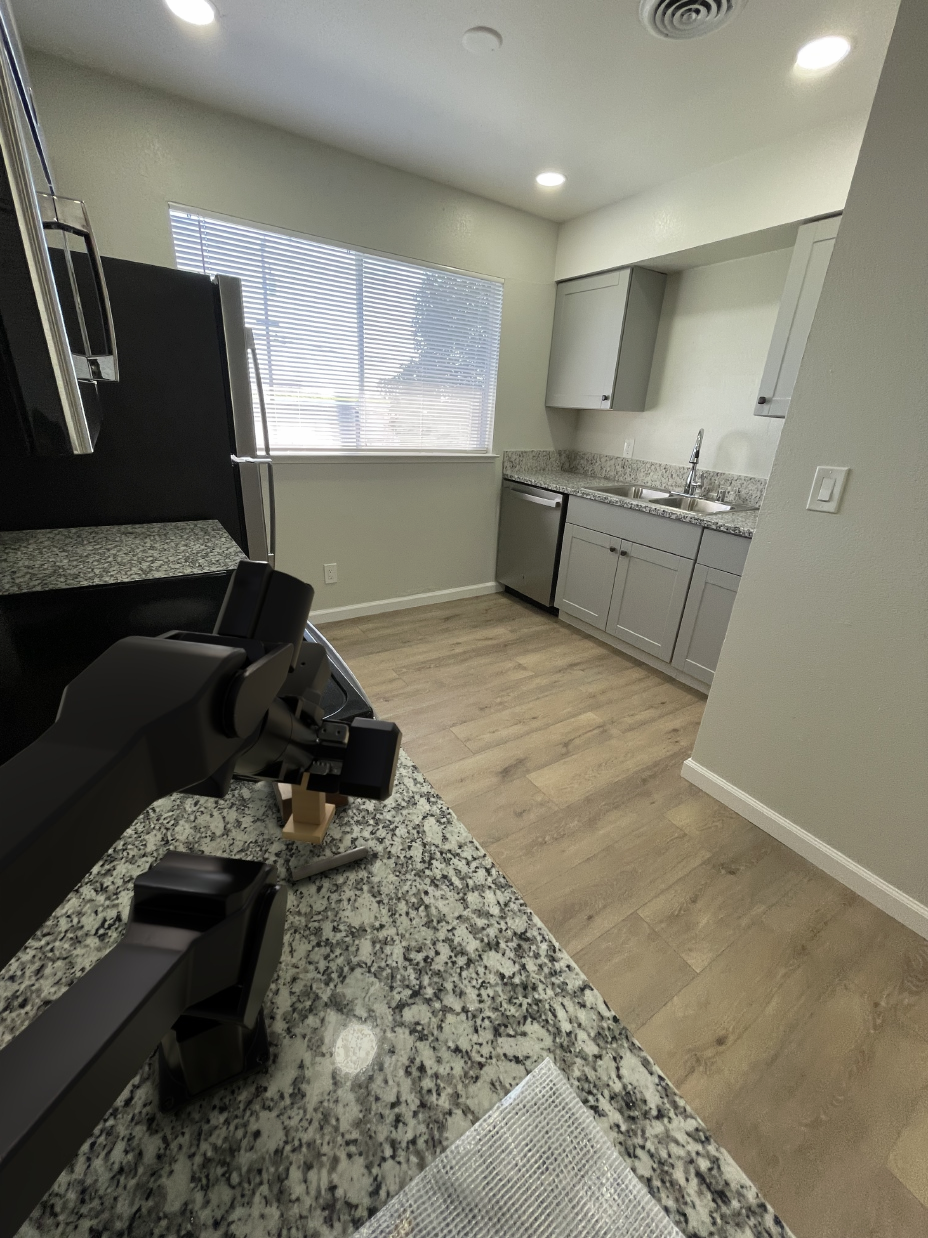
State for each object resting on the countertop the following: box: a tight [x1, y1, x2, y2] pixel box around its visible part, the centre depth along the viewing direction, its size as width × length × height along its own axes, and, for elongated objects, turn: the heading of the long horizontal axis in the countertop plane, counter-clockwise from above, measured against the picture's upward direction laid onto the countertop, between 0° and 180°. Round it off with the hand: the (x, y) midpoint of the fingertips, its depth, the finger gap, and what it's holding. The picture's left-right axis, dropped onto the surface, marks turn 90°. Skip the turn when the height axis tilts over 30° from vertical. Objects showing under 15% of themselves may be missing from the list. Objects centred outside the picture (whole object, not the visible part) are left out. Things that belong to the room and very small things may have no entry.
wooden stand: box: [271, 782, 368, 882], centre depth 55 cm, size 16×8×4 cm, turn 29°
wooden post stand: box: [281, 739, 336, 845], centre depth 49 cm, size 5×4×10 cm
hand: (313, 761), depth 50 cm, fingers closed on wooden post stand, 3 cm apart
